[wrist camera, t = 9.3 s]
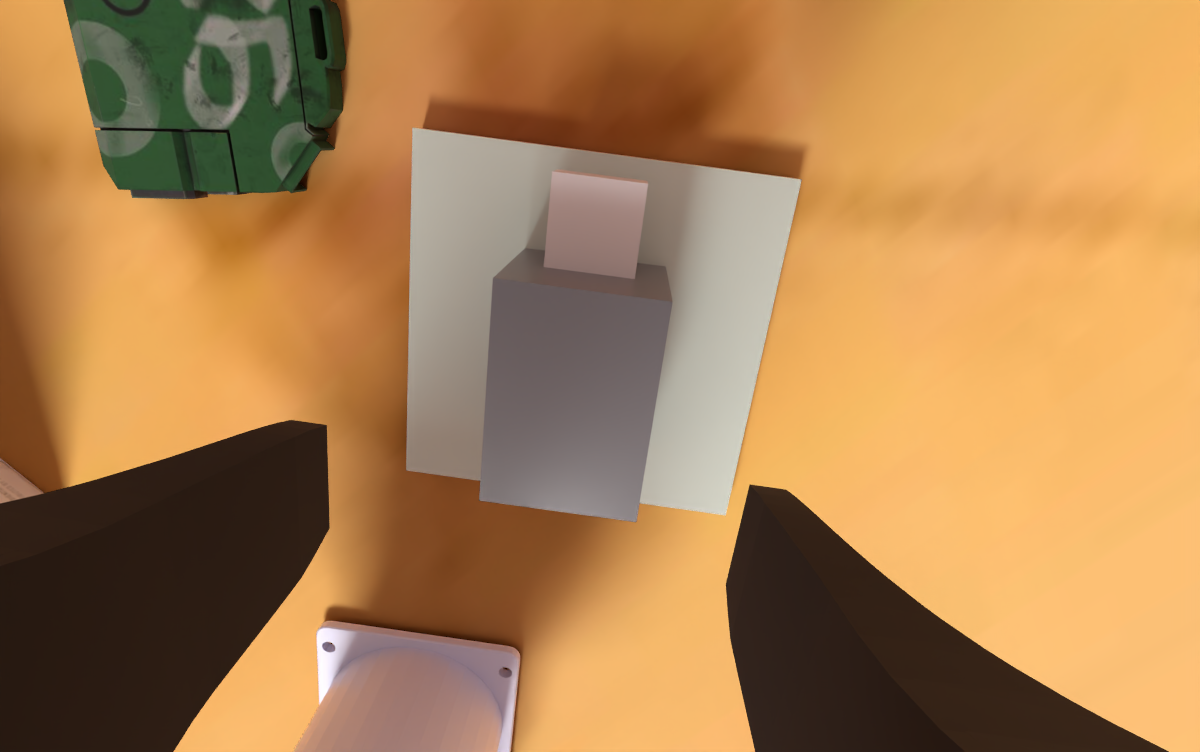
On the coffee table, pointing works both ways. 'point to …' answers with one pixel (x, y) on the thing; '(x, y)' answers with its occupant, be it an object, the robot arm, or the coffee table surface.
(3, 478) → the tea box
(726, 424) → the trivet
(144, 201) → the coffee table surface
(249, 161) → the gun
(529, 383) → the connector plug
